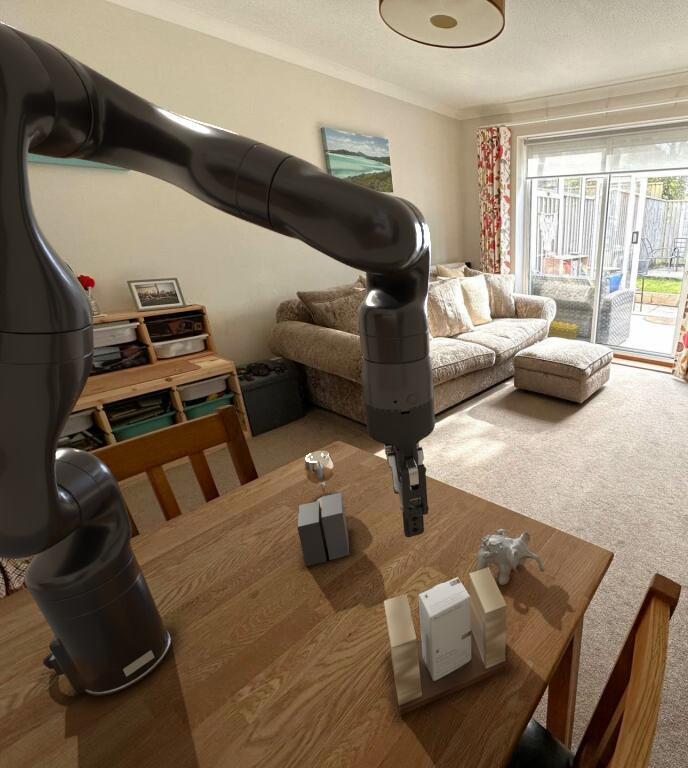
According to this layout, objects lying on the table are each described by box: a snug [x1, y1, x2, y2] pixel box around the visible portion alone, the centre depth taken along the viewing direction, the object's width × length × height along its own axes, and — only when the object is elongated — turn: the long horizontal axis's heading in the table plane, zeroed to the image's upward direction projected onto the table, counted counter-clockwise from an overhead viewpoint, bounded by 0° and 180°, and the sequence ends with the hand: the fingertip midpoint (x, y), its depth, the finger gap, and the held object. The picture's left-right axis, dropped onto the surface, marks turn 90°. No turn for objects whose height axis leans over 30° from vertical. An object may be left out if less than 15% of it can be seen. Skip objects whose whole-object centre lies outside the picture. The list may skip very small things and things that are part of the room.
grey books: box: [296, 492, 350, 567], centre depth 76 cm, size 8×6×10 cm
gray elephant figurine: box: [476, 528, 545, 586], centre depth 73 cm, size 9×12×8 cm
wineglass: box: [304, 450, 335, 509], centre depth 89 cm, size 6×6×12 cm
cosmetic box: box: [417, 576, 471, 681], centre depth 56 cm, size 6×4×12 cm
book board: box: [383, 567, 508, 716], centre depth 56 cm, size 15×8×12 cm, turn 114°
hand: (407, 511), depth 51 cm, fingers open, 8 cm apart
